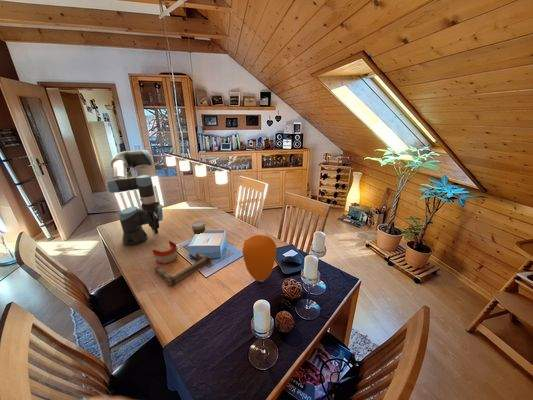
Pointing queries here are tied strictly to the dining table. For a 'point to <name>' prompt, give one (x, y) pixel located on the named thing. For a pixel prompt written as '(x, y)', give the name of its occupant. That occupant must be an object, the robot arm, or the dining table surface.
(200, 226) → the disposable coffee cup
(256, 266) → the orange egg-shaped ornament
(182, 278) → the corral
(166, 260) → the toy
